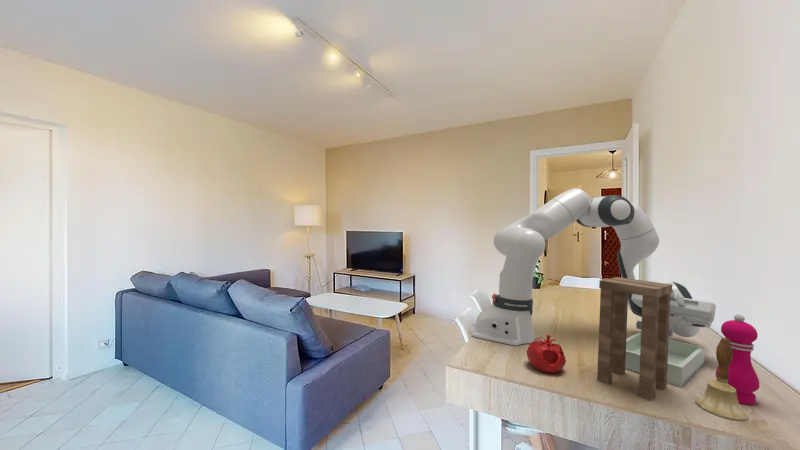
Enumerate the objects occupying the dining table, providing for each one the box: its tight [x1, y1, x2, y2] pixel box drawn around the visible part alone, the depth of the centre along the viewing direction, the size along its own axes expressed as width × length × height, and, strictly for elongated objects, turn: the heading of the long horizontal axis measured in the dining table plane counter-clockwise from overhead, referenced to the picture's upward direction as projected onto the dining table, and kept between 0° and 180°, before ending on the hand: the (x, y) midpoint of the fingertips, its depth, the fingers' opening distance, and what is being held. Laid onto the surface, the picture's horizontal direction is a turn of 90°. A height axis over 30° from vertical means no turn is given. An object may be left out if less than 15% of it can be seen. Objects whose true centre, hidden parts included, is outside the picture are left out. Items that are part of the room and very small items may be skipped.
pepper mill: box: [715, 314, 761, 406], centre depth 76 cm, size 7×7×20 cm
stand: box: [596, 276, 672, 402], centre depth 81 cm, size 12×12×26 cm
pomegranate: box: [526, 334, 567, 374], centre depth 88 cm, size 10×10×9 cm
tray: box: [625, 331, 706, 388], centre depth 94 cm, size 25×16×5 cm, turn 126°
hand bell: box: [694, 337, 749, 422], centre depth 70 cm, size 8×8×16 cm
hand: (665, 294), depth 96 cm, fingers closed on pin, 2 cm apart
